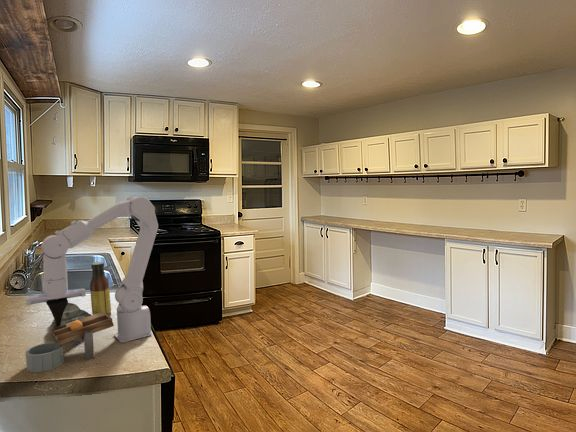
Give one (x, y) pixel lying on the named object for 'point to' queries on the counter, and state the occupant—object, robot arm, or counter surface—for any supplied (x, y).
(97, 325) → the lever
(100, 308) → the sauce bottle
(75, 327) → the ball
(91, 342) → the lever stand
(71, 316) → the detergent
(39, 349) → the cup
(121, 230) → the counter surface
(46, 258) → the robot arm
